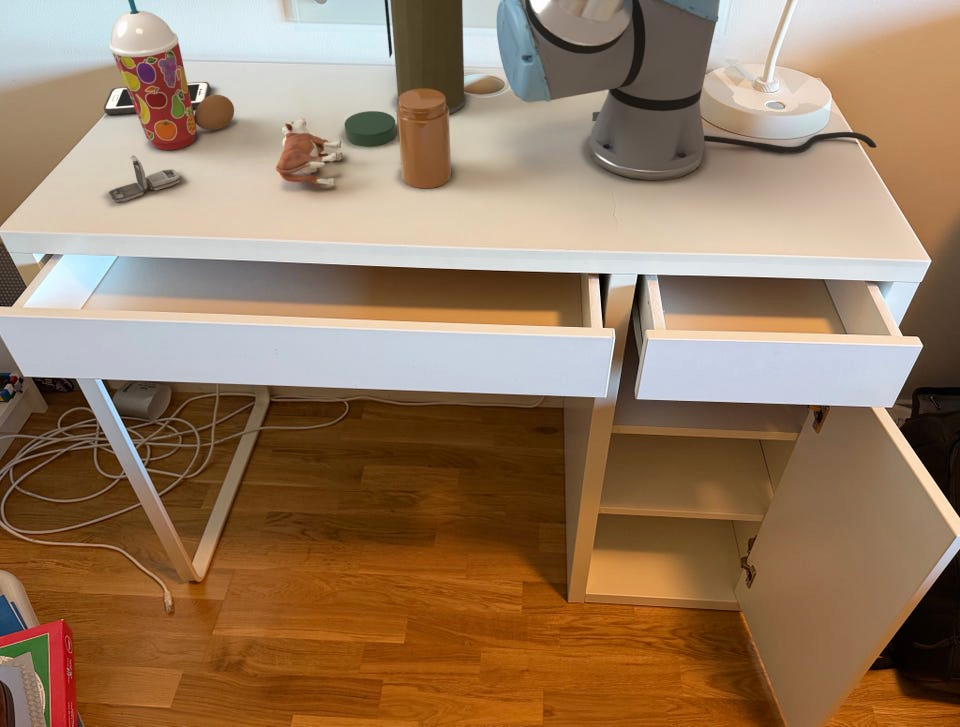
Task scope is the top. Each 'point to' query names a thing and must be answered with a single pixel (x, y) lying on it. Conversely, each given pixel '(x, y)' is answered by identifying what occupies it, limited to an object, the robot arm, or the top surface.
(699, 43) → the robot arm
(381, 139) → the lid
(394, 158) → the top surface
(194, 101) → the cell phone
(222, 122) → the egg
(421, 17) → the canister
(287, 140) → the bull figurine
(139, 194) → the strap clip
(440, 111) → the jar
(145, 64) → the smoothie
